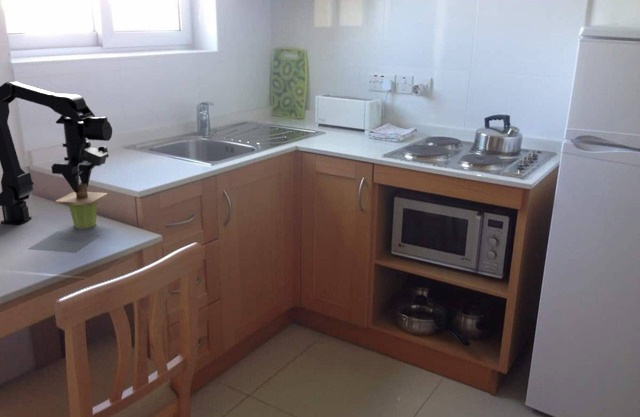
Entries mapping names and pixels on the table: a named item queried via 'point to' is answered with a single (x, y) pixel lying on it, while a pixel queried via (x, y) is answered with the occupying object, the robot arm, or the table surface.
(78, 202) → the lid
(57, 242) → the mat
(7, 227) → the table surface
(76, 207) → the plant pot
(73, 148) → the robot arm
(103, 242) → the table surface
